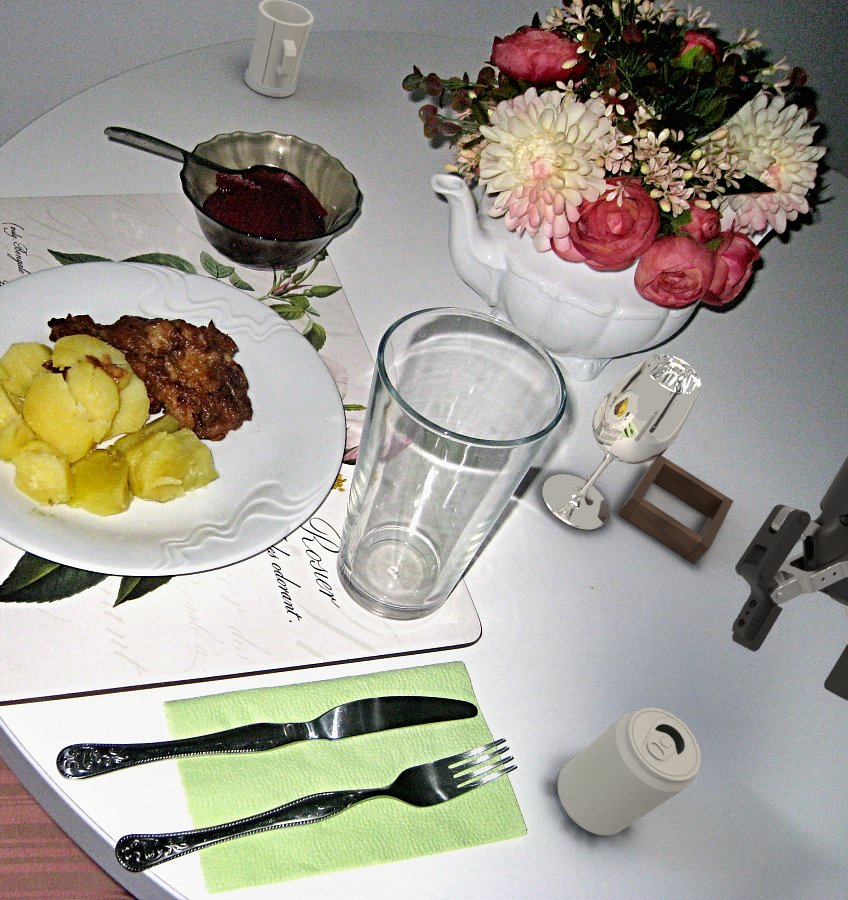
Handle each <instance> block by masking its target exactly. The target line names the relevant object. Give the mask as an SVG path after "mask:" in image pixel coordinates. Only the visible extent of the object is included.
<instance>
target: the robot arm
mask: <svg viewBox="0 0 848 900" xmlns="http://www.w3.org/2000/svg"><path fill="white" fill-rule="evenodd" d="M819 509H820V511H821V512H820V514H819V516H818V517H816V519H814V520H813V519H812V518H811V514H810V513H809V512H808V511H805V510H803V509H799V508H795V507H792V506H789V505H785V504H781V503H780V504H776V505H775V506H774V507H773V508H772V509H771V511H770V513H769V514H768V516H767V517H766V519H765V520H764V521H763V523H762V525H761V526H760V528H759V529H758V531H757V532H756V533H755V536H754V537H753V538H752V540H751V541H750V543H749V544H748V546H747V547H746V549H745V550H744V552H743V554H742V555H741V557H740V558H739V560H738V561H737V563H736V565H735V567H734V569H735V573H736V574H737V575H738V576H740V577H742V578H743V579H744V581H745V582H746V583H747V584H748V585H749V587H750V594H749V595H748V597H747V599H746V601H745V602H744V605H743V606H742V608H741V609H740V612H739V613H738V614H737V617H736V618H735V619H734V621H733V623H732V629H731V632H732V635H731V640H732V641H733V642H734V643H736V644H738V645H740V646H741V647H744V649H747V650H749V651H751V652H754V653H755V652H757V651H759V650H760V649H761V647H762V645H763V644H764V642H765V641H766V639H767V637H768V635H769V634H770V632H771V630H772V629H773V627H774V625H775V623H776V621H777V620H778V619H779V617H780V615H781V614H782V612H783V610H784V608H783V607H781V606H780V605H782V604H785V603H787V602H788V601H789V602H790V601H791V600H792V599H795V598H797V597H798V596H801V595H804V594H814V593H816V592H820V593H823V594H824V595H826V596H828V597H829V598H830V599H832V600H833V601H836V602H838V603H839V604H841V605H843V606H844V608H845V610H844V611H845V614H846V616H847V617H848V455H847V456H846V458H845V460H844V461H843V463H842V465H841V467H840V468H839V470H838V472H837V473H836V475H835V476H834V478H833V480H832V482H831V484H830V485H829V487H828V488H827V490H826V492H825V494H824V495H823V496H822V499H821V500H820V503H819ZM801 541H802V552H800V553H798V554H796V555H793V556H791V557H789V555H790V554H791V552H792V551H793V549H794V547H795V546H796V545H797V544H798V543H800V542H801ZM788 557H789V558H788ZM823 688H824V689H825V690H826V691H828V692H829V693H832V694H833V695H835V696H836V697H838V698H841V699H843V700H845V701H847V702H848V644H846V645H845V647H844V649H843V650H842V652H841V654H840V656H839V657H838V659H837V660H836V662H835V664H834V665H833V667H832V668H831V670H830V672H829V674H828V675H827V677H826V678H825V680H824V682H823Z"/></svg>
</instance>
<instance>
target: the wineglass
mask: <svg viewBox="0 0 848 900" xmlns="http://www.w3.org/2000/svg"><path fill="white" fill-rule="evenodd" d="M702 388H703V381H702V379H701V377H700V375H699V373H698V372H697V371H696V370H695V368H693V366H692V365H690V364H689V363H688V362H687V361H685V360H683V359H681V358H679V357H677V356H674V355H672V354H667V353H662V352H661V353H659V352H658V353H652V354H651V355H649V356H647V357H646V358H645V359H644V360H643V361H642V362H640V363H639V364H638V365H637V366H635V367H634V368H633V369H632V370H631V371H629V373H627V374H626V375H625V376H624V377H623V378H621V380H619V381H618V382H617V383H616V384H615V385H614V386H613V387H612V388H611V389H610V390H609V391H608V393H606V395H605V396H604V397H603V398H602V399H601V401H600V402H599V403H598V405H597V407H596V409H595V410H594V413H593V418H592V425H591V426H592V427H591V428H592V433H593V438H594V440H595V442H596V445H598V447H599V449H600V450H601V452H603V453H604V456H603V458H602V459H601V461H600V463H599V464H598V465H597V467H596V468H595V470H594V471H593V472H592V473H591V475H590V476H589V477H588V478H587V480H585V479H583V478H581V477H578V476H576V475H572V474H565V473H561V474H560V473H559V474H555V475H552V476H550V477H548V478H546V480H545V481H544V483H543V485H542V490H541V493H542V499H543V501H544V503H545V505H546V507H547V508H548V509H549V511H550V513H552V514H553V515H554V516H555V517H556V518H557V519H558V520H560V521H562V522H563V523H565V524H566V525H568V526H571V527H573V528H576V529H579V530H595V529H598V528H600V527H602V526H603V525H604V524H605V523H606V522H607V520H608V518H609V507H608V503H607V501H606V499H605V498H604V496H603V495H602V494H601V492H600V491H599V490H598V489H597V488H596V487H595V486H594V483H595V482H596V481H597V480H598V478H599V477H600V475H602V473H603V472H604V471H605V470H606V468H607V467H608V466H609V465H610V464H611V463H612V462H613V461H616V462H619V463H623V464H628V465H640V464H646V463H649V462H653V461H654V459H656V458H658V457H659V456H661V455H662V456H663V455H664V454H665V453H666V452H667V451H668V450H669V449H670V448H671V446H672V445H673V444H674V442H675V440H676V439H677V438H678V437H679V435H680V434H681V432H682V430H683V428H684V426H685V424H686V422H687V421H688V419H689V416H690V414H691V412H692V410H693V408H694V406H695V403H696V401H697V399H698V396H699V395H700V392H701V390H702Z"/></svg>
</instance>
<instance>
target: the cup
mask: <svg viewBox="0 0 848 900" xmlns="http://www.w3.org/2000/svg"><path fill="white" fill-rule="evenodd" d="M256 15H257V17H256V23H255V30H254V31H255V32H254V37H253V44H252V50H251V55H250V59H249V64H248V66H249V74H250V76H251V77H252V78H253V79H254V80H256V81H257V82H259V85H260V84H262V85H265V86H263V87H266V86H267V88H269V87H273V88H272V89H274V88H282V87H283V88H284V87H287V86H289V85H292V84H293V83H294V82H295V80H296V78H297V76H298V73H299V69H300V66H301V61H302V58H303V55H304V51H305V49H306V45H307V42H308V40H309V37H310V33H311V30H312V28H313V27H312V26H313V24H314V21H315V17H314V14H313V13H312V12H311V11H310V10H309V9H307V8H306V7H305V6H302V5H301V4H298V3H296V2H294V1H290V0H263V1H262V0H261V2H259V4H258V7H257V14H256ZM243 77H244V81H245V83H246V84H247V86H248V87H249V88H250V89H252V91H254V92H256V93H257V94H260V95H263V96H267V97H270V98H286V97H290V96H291V95H293V94H294V93H295V92H293V91H291V92H287V93H274V92H269V91H266V90H263V89H260V88H258V87H256V86H254V85H253V84H251V83H250V82H249V81H248V80H247V78H246V77H245V74H244V76H243ZM250 79H251V78H250ZM254 82H255V81H254ZM269 89H271V88H269Z"/></svg>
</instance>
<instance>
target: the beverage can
mask: <svg viewBox="0 0 848 900" xmlns="http://www.w3.org/2000/svg"><path fill="white" fill-rule="evenodd" d="M701 763H702V752H701V748H700V745H699V743H698V741H697V738H696V737H695V735H694V734H693V732H692V730H691V729H690V728H689V727H688V726H687V724H686V723H685V722H684V721H682V720H681V719H680V718H679V717H678V716H676V715H674V714H673V713H672V712H669V711H667V710H665V709H663V708H658V707H652V706H651V707H644V708H641V709H634V710H630V711H629V712H627V713H625V714H623V715H622V716H621V717H620V718H619V719H618V720H616V721H615V722H614V723H613V724H612V725H611V726H610V727H608V728H607V729H606V730H604V731H603V732H602V733H601V734H600V735H598V736H597V737H596V738H595V739H594V740H593V741H592V742H590V743H589V744H588V745H587V746H586V747H584V748H583V749H582V750H581V751H580V752H579V753H577V754H576V755H575V756H574V757H573V758H571V760H569V761H567V762H566V763H565V764H564V766H562V768H561V769H560V772H559V774H558V777H557V793H558V797H559V800H560V803H561V805H562V807H563V809H564V810H565V812H566V814H568V816H569V817H570V818H571V820H572V821H574V823H576V824H577V825H578V826H579V827H581V828H582V829H584V830H586V831H587V832H589V833H591V834H594V835H598V836H612V835H617V834H619V833H620V832H622V831H623V830H625V829H626V828H628V827H629V826H631V825H632V824H634V823H635V822H637V821H639V820H640V819H641V818H643V817H645V816H646V815H648V814H649V813H651V812H652V811H653V810H655V809H656V808H658V807H660V806H661V805H663V804H664V803H666V802H667V801H669V800H671V798H673V797H675V796H676V795H678V794H680V793H681V792H682V791H684V790H686V789H687V788H688V787H689V786H690V785H692V783H693V781H694V780H695V778H696V774H697V773H698V772H699V770H700V767H701V765H702V764H701Z"/></svg>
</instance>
